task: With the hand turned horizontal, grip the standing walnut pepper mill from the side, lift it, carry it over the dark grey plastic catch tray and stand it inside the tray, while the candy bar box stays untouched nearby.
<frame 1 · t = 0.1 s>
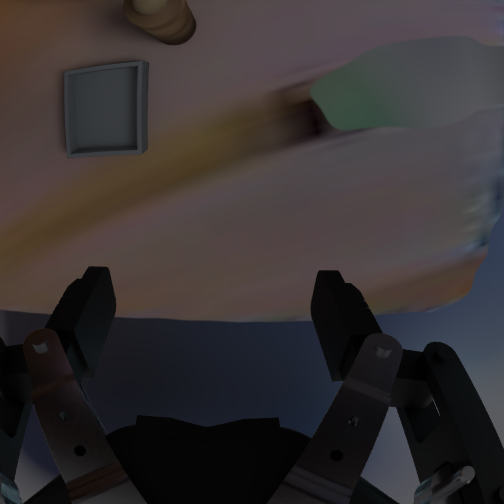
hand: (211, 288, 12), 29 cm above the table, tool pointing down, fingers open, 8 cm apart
pepper mill: (175, 27, 29), on the table
catch tray: (109, 108, 33), on the table
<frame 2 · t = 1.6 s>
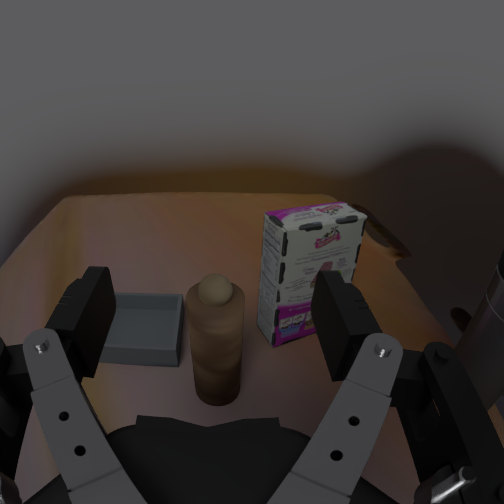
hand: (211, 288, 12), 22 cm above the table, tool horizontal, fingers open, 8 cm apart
candy bar box: (298, 325, 42), on the table
pepper mill: (217, 388, 32), on the table
catch tray: (139, 335, 38), on the table
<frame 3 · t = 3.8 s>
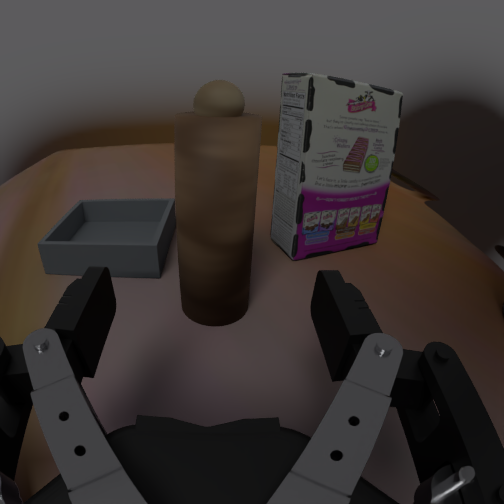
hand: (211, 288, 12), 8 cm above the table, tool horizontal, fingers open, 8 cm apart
candy bar box: (324, 243, 33), on the table
pepper mill: (214, 303, 23), on the table
catch tray: (114, 246, 29), on the table
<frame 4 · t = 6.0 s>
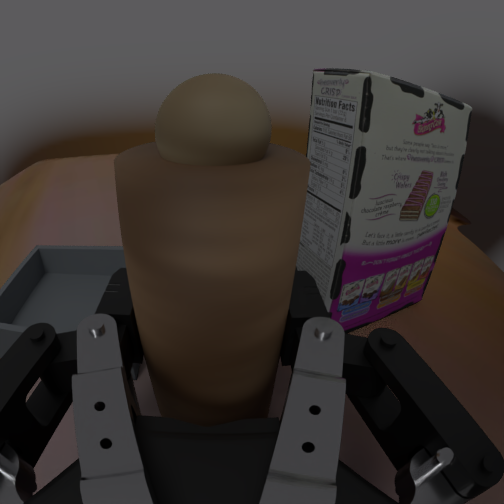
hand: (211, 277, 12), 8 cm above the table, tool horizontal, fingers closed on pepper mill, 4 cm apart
candy bar box: (357, 305, 24), on the table
pepper mill: (215, 429, 14), on the table, touching gripper
catch tray: (77, 317, 20), on the table
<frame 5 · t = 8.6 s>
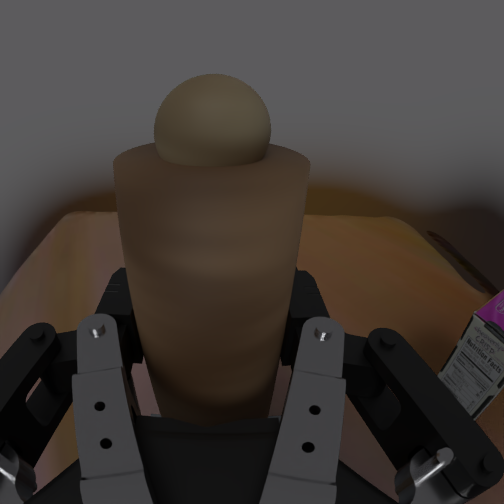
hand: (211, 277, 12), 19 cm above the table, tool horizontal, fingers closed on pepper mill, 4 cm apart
candy bar box: (434, 431, 24), on the table
pepper mill: (215, 429, 14), point 11 cm above the table, touching gripper
when the fingers open (9 cm above the table, at t = 10.8 s): pepper mill drops 1 cm, resting on catch tray.
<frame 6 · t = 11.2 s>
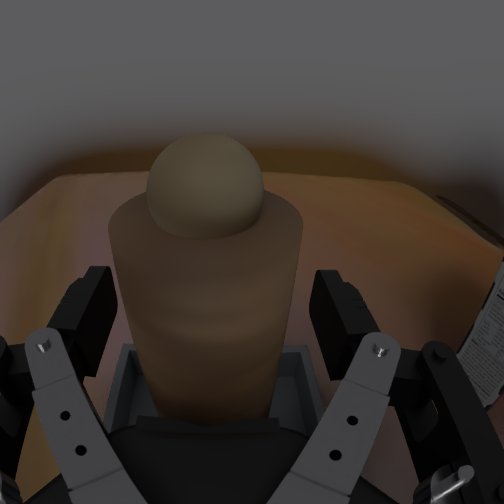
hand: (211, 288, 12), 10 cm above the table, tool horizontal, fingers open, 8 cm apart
candy bar box: (482, 376, 19), on the table
pepper mill: (216, 442, 15), point 1 cm above the table, touching catch tray
catch tray: (215, 445, 15), on the table
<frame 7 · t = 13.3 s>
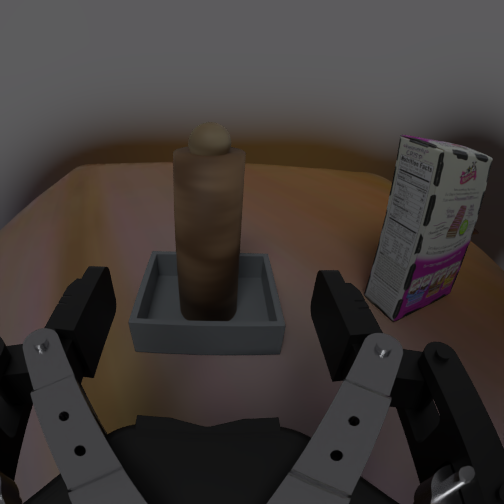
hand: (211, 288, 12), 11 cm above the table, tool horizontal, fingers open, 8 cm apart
candy bar box: (408, 296, 31), on the table
pepper mill: (208, 307, 27), point 1 cm above the table, touching catch tray
catch tray: (208, 311, 27), on the table
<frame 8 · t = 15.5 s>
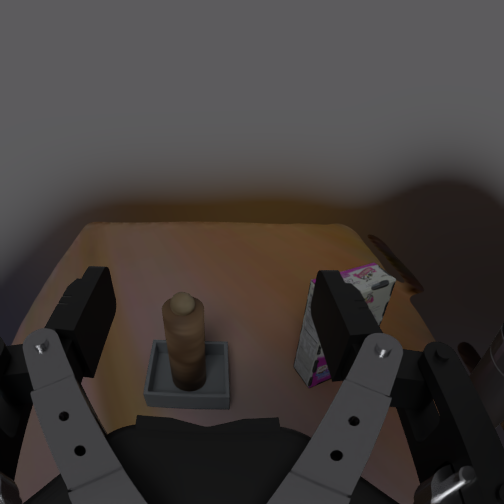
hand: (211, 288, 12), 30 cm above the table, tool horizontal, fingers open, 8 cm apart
candy bar box: (328, 366, 46), on the table
pepper mill: (189, 378, 42), point 1 cm above the table, touching catch tray
catch tray: (189, 379, 42), on the table
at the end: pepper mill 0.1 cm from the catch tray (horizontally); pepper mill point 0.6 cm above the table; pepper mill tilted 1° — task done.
